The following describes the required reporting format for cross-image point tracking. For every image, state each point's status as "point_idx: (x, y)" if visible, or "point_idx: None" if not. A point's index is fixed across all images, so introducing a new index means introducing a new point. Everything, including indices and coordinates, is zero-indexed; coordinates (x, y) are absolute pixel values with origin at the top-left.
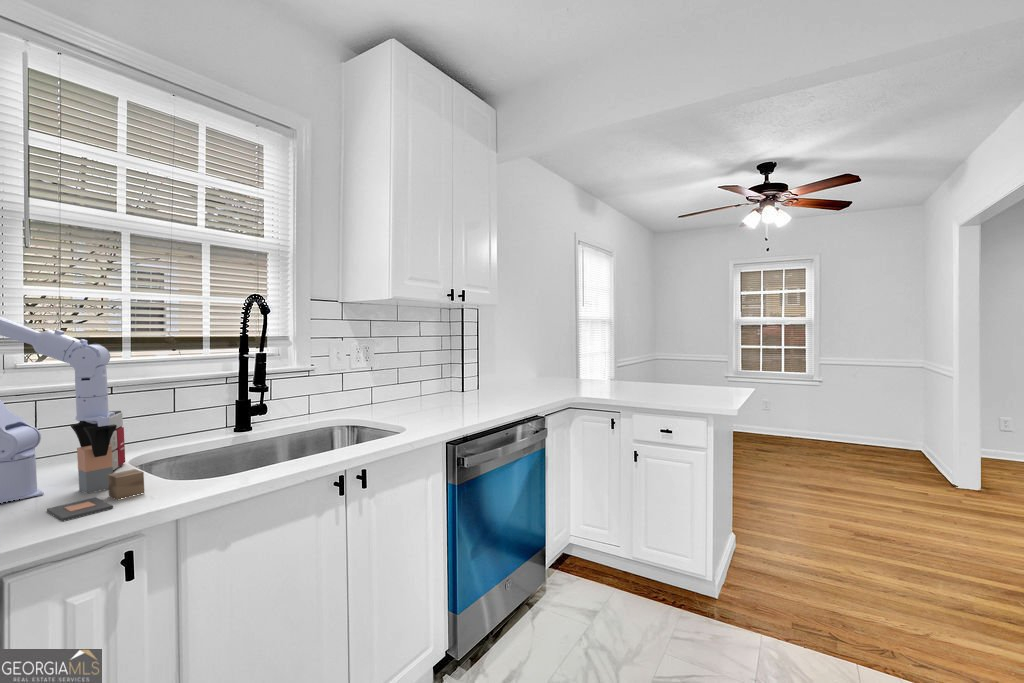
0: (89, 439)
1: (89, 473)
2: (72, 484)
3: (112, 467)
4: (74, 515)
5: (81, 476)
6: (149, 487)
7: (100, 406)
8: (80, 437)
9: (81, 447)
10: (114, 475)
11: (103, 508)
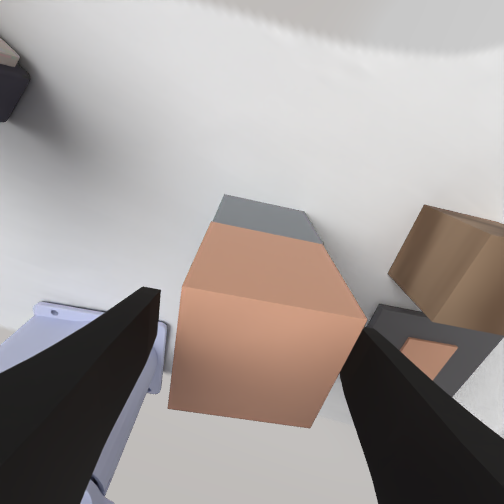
0: (112, 387)
1: None
2: (101, 235)
3: (323, 244)
4: (460, 386)
5: None
6: (457, 165)
7: None
8: (92, 460)
9: (183, 397)
10: (476, 322)
11: (493, 346)
